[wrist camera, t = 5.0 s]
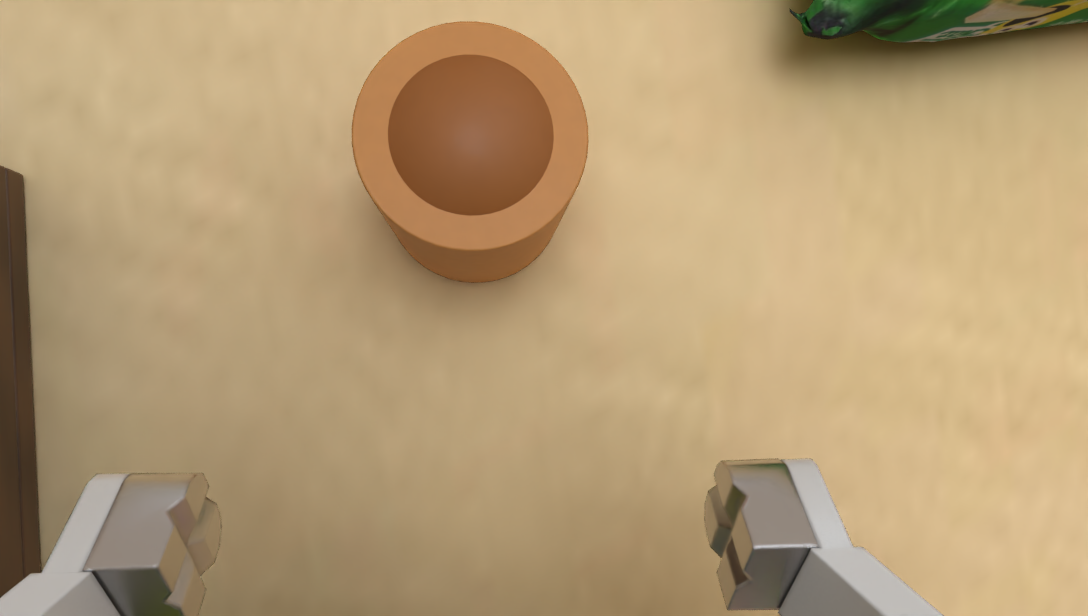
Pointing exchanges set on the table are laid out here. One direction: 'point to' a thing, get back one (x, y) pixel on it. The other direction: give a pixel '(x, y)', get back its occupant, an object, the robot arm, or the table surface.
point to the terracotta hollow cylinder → (470, 147)
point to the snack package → (935, 17)
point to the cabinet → (15, 396)
